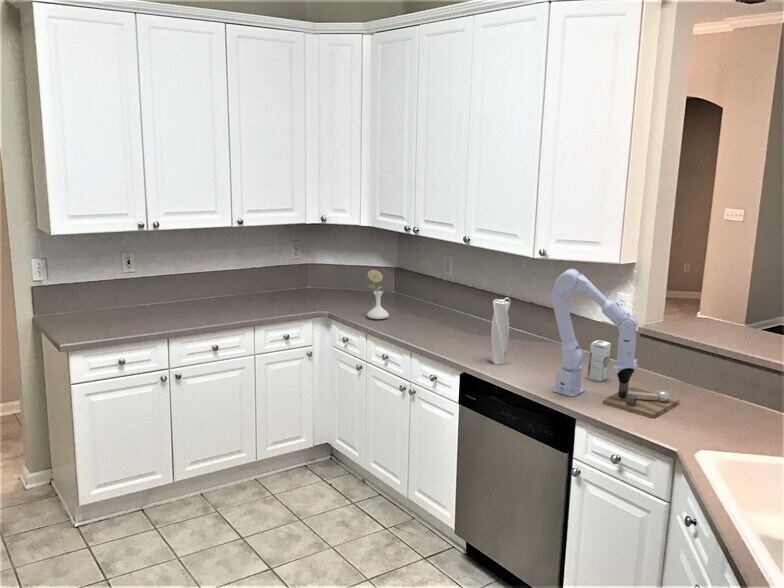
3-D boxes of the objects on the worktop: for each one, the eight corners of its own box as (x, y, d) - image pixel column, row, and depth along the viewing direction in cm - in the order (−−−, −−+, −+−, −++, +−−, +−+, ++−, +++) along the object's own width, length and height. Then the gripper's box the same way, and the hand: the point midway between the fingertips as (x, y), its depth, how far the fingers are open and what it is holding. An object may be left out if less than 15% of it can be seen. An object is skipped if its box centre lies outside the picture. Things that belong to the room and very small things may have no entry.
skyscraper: (512, 365, 272) (516, 298, 267) (493, 366, 271) (497, 298, 265) (504, 359, 280) (508, 293, 275) (486, 360, 279) (489, 294, 273)
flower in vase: (393, 318, 347) (394, 270, 341) (379, 322, 338) (380, 273, 333) (374, 314, 354) (374, 267, 349) (359, 317, 346) (360, 270, 341)
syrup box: (593, 375, 261) (596, 339, 258) (607, 378, 257) (611, 342, 254) (587, 379, 256) (589, 342, 253) (601, 382, 253) (605, 345, 250)
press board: (653, 418, 218) (655, 405, 217) (602, 403, 231) (603, 391, 230) (679, 403, 232) (680, 391, 231) (629, 390, 245) (630, 378, 244)
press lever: (669, 402, 228) (671, 388, 227) (619, 398, 231) (620, 384, 230) (667, 398, 232) (668, 384, 231) (617, 394, 235) (618, 380, 234)
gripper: (627, 357, 224) (624, 396, 227) (646, 349, 234) (643, 386, 237) (607, 353, 229) (605, 390, 232) (627, 345, 239) (624, 381, 242)
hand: (623, 388), depth 235 cm, fingers closed
